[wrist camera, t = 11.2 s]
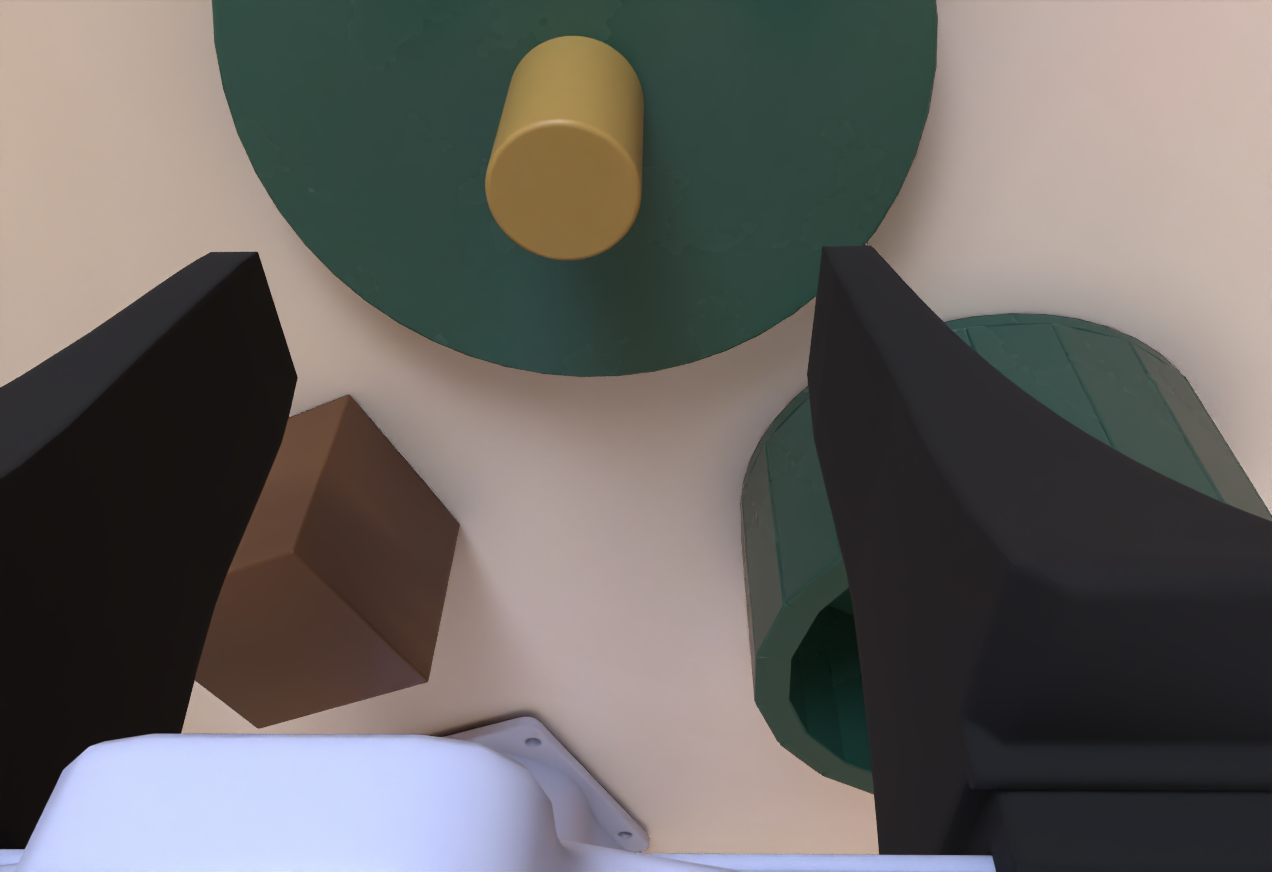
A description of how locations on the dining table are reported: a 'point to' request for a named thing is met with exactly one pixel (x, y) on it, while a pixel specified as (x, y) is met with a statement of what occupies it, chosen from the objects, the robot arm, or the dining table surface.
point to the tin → (809, 548)
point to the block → (330, 576)
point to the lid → (580, 159)
